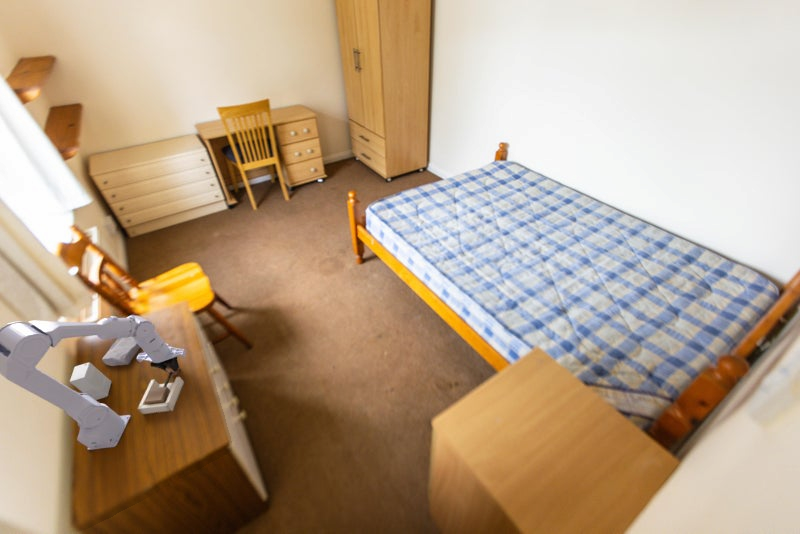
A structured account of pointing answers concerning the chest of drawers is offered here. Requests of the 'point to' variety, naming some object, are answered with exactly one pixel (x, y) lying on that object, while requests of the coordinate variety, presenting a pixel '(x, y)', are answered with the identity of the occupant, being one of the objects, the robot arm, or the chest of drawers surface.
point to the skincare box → (90, 381)
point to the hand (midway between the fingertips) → (173, 369)
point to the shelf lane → (170, 401)
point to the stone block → (121, 352)
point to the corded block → (160, 391)
